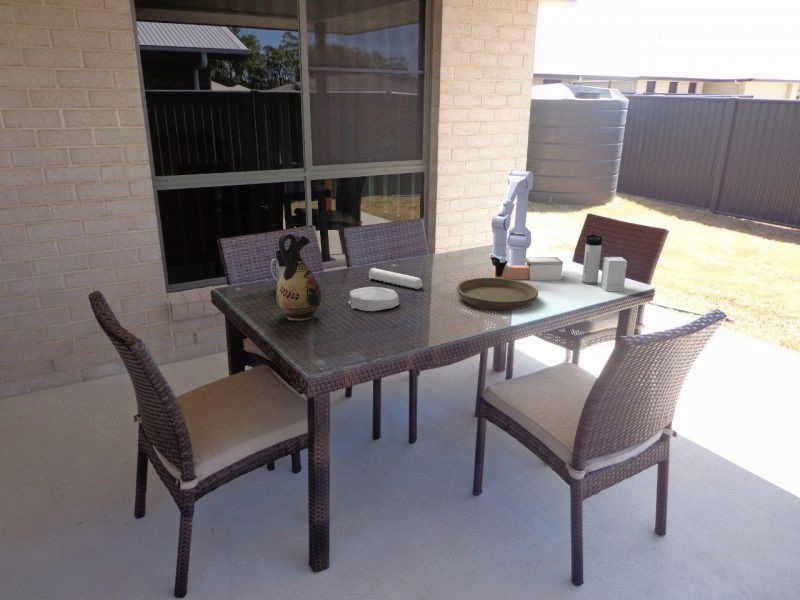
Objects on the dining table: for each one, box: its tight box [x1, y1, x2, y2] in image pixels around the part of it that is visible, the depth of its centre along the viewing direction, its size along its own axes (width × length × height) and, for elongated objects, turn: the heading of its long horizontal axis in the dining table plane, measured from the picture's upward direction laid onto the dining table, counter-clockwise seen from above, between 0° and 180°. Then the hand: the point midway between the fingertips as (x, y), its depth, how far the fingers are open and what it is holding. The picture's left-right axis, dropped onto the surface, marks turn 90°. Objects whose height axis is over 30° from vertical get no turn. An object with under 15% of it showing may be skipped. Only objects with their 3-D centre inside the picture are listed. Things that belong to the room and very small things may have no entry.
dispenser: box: [524, 256, 564, 281], centre depth 261 cm, size 8×15×8 cm, turn 94°
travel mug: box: [581, 234, 603, 286], centre depth 252 cm, size 6×7×20 cm
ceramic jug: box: [275, 232, 322, 321], centre depth 207 cm, size 17×15×30 cm
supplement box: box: [600, 256, 628, 292], centre depth 245 cm, size 7×7×13 cm
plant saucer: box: [456, 277, 539, 311], centre depth 232 cm, size 31×31×5 cm
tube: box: [368, 267, 424, 290], centre depth 251 cm, size 5×5×25 cm
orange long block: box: [492, 264, 530, 280], centre depth 260 cm, size 4×16×5 cm, turn 94°
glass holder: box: [270, 249, 291, 284], centre depth 241 cm, size 9×14×15 cm, turn 155°
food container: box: [347, 286, 400, 312], centre depth 226 cm, size 20×20×7 cm
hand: (497, 274), depth 260 cm, fingers closed on orange long block, 4 cm apart
